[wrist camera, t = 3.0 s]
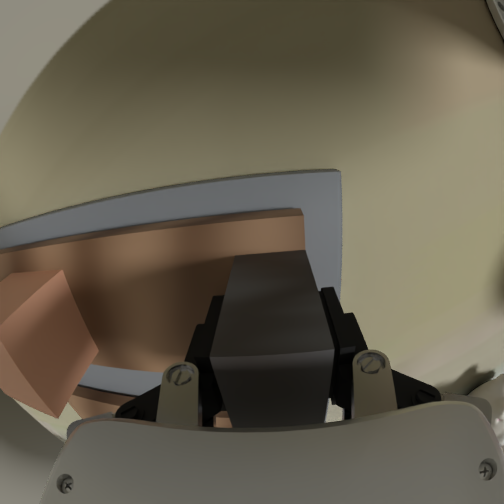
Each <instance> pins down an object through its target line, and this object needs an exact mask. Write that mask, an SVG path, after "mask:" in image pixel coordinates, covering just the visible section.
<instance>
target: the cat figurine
mask: <svg viewBox="0 0 504 504" xmlns="http://www.w3.org/2000/svg"><path fill="white" fill-rule="evenodd" d="M467 396H472V397H479V398H483V399H486V400H487V401H488V402H489V403H490V405H491V407H492V420H491V427H492V429H493V430H494V432H495V434H496V437H497V439H498V441H499V443H500V445H504V374H501V375H500V376H498V377H497V378H496V379H493V380H490V381H488V382H486V383H484V384H482V385H481V386H479V387H477V388H476V389H475V390H473V391H472V392H471V393H469V394H468V395H467Z"/></svg>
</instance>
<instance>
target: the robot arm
mask: <svg viewBox="0 0 504 504" xmlns="http://www.w3.org/2000/svg"><path fill="white" fill-rule="evenodd" d="M486 1H487V4H488V7H489V9H490V12H491V14H492V16H493V18H494V21H495V23H496V25H497V27H498V29H499V31H500V33H501V35H502V37H503V39H504V0H486ZM318 292H319V295H320V299H321V302H322V305H323V309H324V312H325V316H326V320H327V323H328V327H329V330H330V334H331V338H332V341H333V345H334V349H335V350H334V359H333V367H332V376H331V383H330V390H329V397H328V398H331V402H332V405H335V404H336V405H338V406H339V407H341V408H343V415H342V421H336V422H328V423H320V424H311V425H301V426H288V427H269V428H220V427H216V416H215V415H216V414H218V413H219V412H221V411H227V410H226V407H225V404H224V401H223V398H222V395H221V392H220V389H219V386H218V383H217V380H216V377H215V374H214V370H213V367H212V364H211V361H210V357H209V356H210V352H211V348H212V344H213V340H214V336H215V332H216V328H217V324H218V320H219V316H220V312H221V308H222V304H223V300H224V296H225V295H217V296H213V297H212V300H211V303H210V307H209V310H208V313H207V316H206V319H205V323H204V324H197V325H196V328H195V331H194V333H193V336H192V339H191V342H190V345H189V348H188V351H187V354H186V357H185V360H184V362H178V363H175V364H172V365H170V366H169V367H168V368H167V369H166V370H165V371H164V373H163V376H162V382H161V384H160V385H158V386H156V387H155V388H153V389H151V390H149V391H147V392H145V393H143V394H142V395H140V396H138V397H136V398H134V399H132V400H130V401H128V402H126V403H124V404H123V405H121V406H120V407H119V408H118V409H117V411H116V413H114V414H113V413H112V412H107V413H104V414H100V415H97V416H93V417H89V418H85V419H81V420H77V421H75V422H73V423H71V424H70V425H69V427H68V429H67V441H66V442H65V444H64V446H63V448H62V449H61V451H60V453H59V456H58V457H57V460H56V462H55V464H54V466H53V468H52V471H51V474H50V476H49V479H48V481H47V484H46V487H45V490H44V492H43V495H42V498H41V501H40V504H504V453H503V450H502V448H501V445H500V443H499V441H498V439H497V437H496V434H495V432H494V430H493V429H492V427H491V420H492V407H491V405H490V403H489V402H488V401H487V400H486V399H483V398H479V397H472V396H465V395H459V394H452V393H447V392H445V394H444V395H442V394H440V393H439V391H438V390H437V389H436V388H435V387H433V386H431V385H429V384H426V383H424V382H421V381H419V380H416V379H414V378H411V377H409V376H407V375H404V374H402V373H399V372H397V371H395V370H392V369H391V366H390V361H389V359H388V357H387V356H386V355H385V354H384V353H382V352H380V351H377V350H368V347H367V345H366V342H365V340H364V337H363V335H362V332H361V330H360V327H359V325H358V323H357V320H356V318H355V315H354V314H353V313H345V314H344V312H343V310H342V307H341V304H340V302H339V299H338V297H337V294H336V292H335V289H334V287H323V288H321V291H318Z"/></svg>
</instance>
